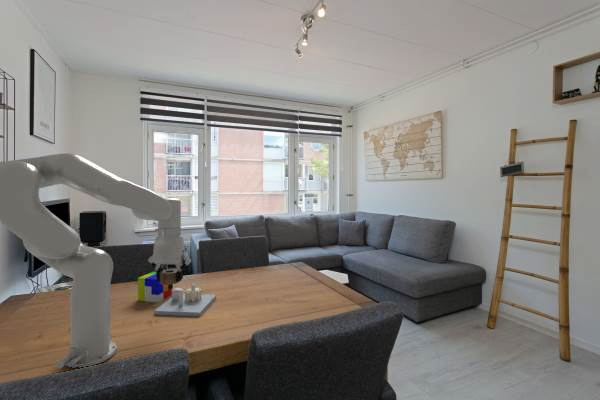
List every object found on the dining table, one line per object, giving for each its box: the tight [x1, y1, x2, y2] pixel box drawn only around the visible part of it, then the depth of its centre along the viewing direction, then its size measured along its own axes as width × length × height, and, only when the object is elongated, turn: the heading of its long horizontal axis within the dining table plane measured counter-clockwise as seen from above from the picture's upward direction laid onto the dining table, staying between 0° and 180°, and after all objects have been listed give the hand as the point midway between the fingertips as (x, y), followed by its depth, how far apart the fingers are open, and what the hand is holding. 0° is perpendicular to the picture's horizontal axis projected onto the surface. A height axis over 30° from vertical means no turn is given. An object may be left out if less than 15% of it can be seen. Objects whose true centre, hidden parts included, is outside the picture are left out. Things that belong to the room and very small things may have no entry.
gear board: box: [153, 283, 217, 317], centre depth 124 cm, size 19×18×8 cm
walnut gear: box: [160, 268, 178, 285], centre depth 108 cm, size 6×6×4 cm
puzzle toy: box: [137, 271, 174, 303], centre depth 133 cm, size 10×10×10 cm
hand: (169, 280), depth 108 cm, fingers closed on walnut gear, 6 cm apart
